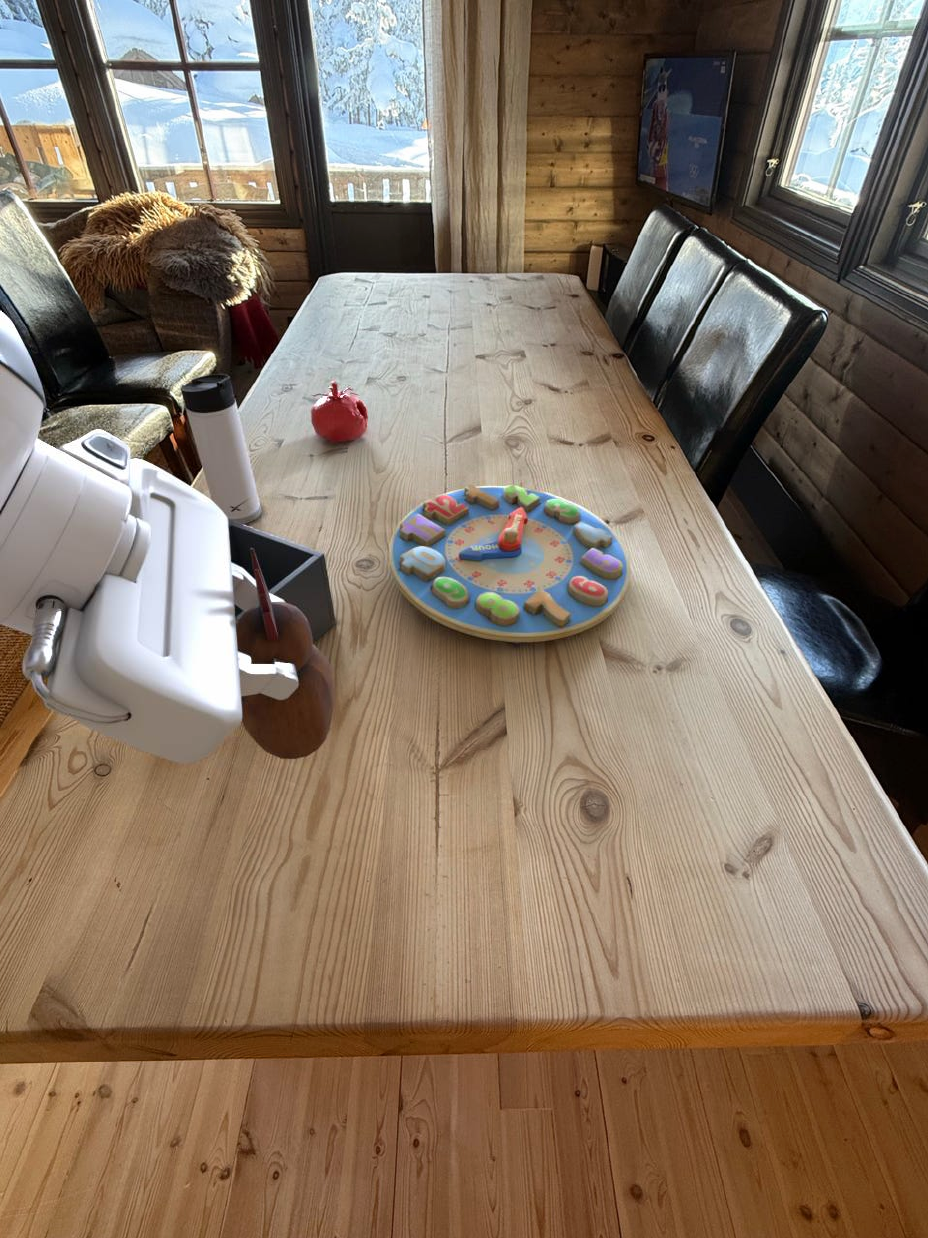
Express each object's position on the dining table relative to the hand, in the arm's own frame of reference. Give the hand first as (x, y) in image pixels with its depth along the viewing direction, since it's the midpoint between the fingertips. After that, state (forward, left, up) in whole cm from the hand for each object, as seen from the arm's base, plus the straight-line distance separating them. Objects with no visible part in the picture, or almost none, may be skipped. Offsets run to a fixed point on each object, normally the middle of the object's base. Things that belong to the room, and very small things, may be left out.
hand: (286, 648), depth 42 cm
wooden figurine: (0, 0, -9) cm, 9 cm away
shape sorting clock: (+42, +4, -23) cm, 48 cm away
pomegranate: (+63, +47, -23) cm, 82 cm away
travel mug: (+35, +44, -23) cm, 61 cm away
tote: (+16, +24, -23) cm, 37 cm away
